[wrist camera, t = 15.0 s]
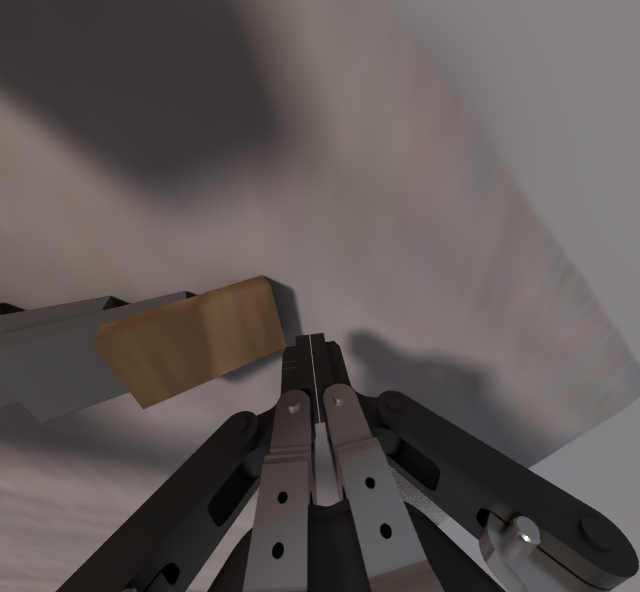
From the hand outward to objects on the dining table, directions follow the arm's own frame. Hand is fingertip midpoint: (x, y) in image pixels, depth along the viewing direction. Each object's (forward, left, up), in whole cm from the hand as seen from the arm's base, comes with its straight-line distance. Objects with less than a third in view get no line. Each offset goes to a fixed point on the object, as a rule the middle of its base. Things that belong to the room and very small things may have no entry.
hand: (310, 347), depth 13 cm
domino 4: (-8, 0, -4) cm, 9 cm away
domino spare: (-2, 0, -4) cm, 5 cm away
